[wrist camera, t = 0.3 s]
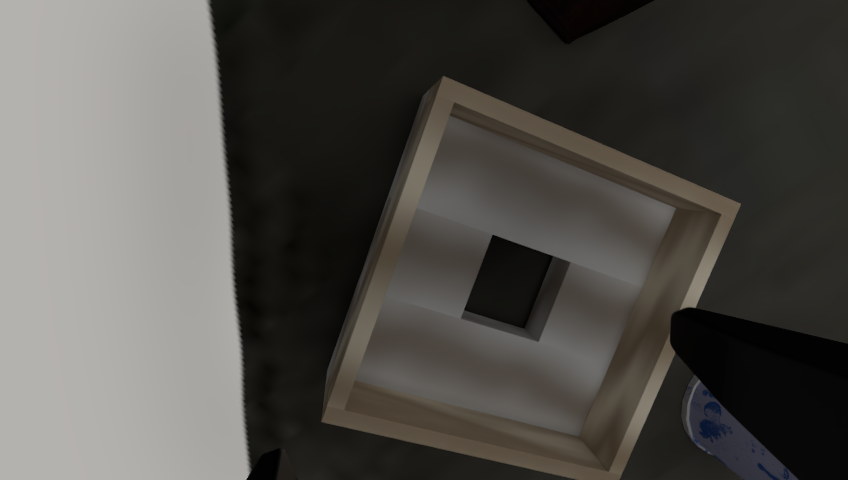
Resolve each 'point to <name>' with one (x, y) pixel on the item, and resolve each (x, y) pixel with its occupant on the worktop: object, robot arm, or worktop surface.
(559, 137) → the tray
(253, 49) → the worktop surface
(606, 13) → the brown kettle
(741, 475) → the aerosol can
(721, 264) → the worktop surface
